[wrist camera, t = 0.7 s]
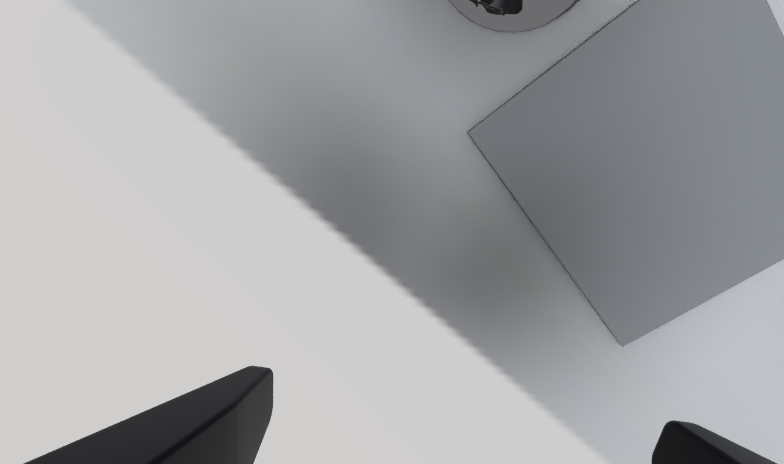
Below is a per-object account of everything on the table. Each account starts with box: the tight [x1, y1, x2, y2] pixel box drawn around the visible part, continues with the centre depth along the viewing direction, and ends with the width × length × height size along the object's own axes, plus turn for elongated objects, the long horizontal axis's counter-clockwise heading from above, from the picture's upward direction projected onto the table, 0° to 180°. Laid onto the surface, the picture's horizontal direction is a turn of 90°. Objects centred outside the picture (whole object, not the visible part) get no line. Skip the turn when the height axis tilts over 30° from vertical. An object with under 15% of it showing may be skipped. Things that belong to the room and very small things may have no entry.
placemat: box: [468, 0, 784, 347], centre depth 18 cm, size 14×12×1 cm
